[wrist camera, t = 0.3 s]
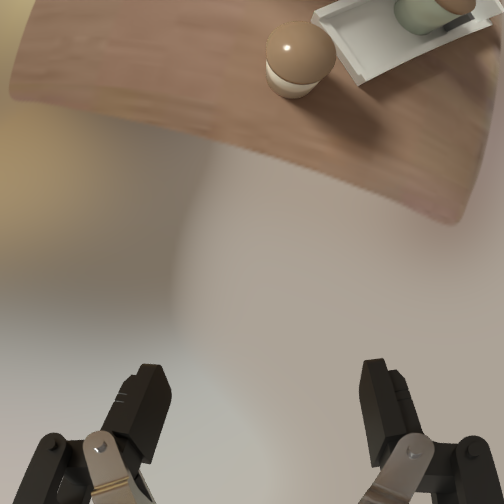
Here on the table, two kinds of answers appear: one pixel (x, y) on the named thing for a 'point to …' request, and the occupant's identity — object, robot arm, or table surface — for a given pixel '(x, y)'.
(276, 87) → the cream jar
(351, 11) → the jar lane
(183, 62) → the table surface
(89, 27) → the table surface
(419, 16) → the sage jar
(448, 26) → the pusher
